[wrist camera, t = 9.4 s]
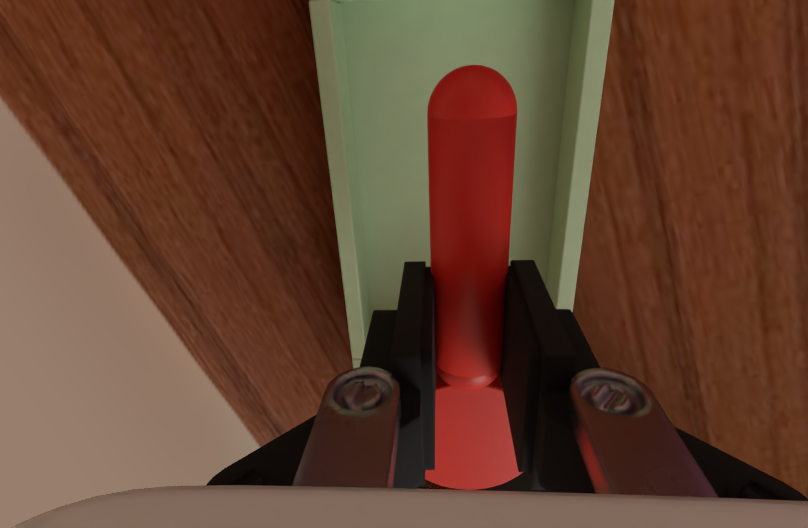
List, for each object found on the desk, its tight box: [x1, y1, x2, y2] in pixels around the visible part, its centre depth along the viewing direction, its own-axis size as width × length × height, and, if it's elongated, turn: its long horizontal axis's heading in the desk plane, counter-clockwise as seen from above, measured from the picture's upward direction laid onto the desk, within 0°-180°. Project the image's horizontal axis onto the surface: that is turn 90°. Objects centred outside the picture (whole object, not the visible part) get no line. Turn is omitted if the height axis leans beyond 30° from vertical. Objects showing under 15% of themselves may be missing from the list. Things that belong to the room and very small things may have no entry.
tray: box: [309, 0, 614, 369], centre depth 18 cm, size 15×9×2 cm, turn 3°
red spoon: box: [425, 65, 523, 490], centre depth 11 cm, size 11×4×2 cm, turn 3°
